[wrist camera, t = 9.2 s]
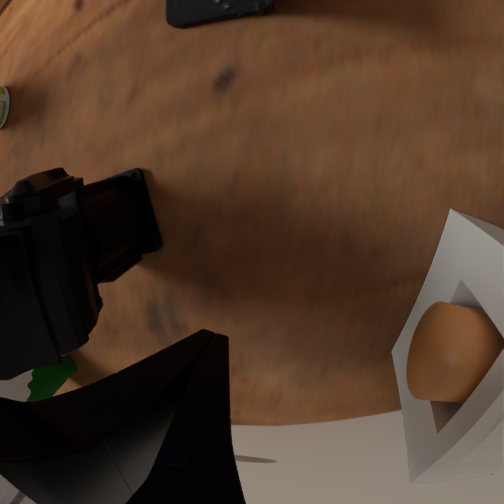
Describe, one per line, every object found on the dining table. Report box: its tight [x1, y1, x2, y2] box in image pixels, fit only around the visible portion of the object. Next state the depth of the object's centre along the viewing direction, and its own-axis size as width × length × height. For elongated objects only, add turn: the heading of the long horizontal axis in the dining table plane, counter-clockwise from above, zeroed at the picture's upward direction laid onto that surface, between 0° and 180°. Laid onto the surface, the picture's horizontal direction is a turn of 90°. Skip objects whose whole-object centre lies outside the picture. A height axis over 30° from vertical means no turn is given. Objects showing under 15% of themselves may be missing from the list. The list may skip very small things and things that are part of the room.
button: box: [406, 301, 504, 403], centre depth 12 cm, size 4×5×5 cm
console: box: [391, 208, 504, 483], centre depth 13 cm, size 7×12×12 cm, turn 170°
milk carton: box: [0, 355, 77, 402], centre depth 24 cm, size 9×9×20 cm
